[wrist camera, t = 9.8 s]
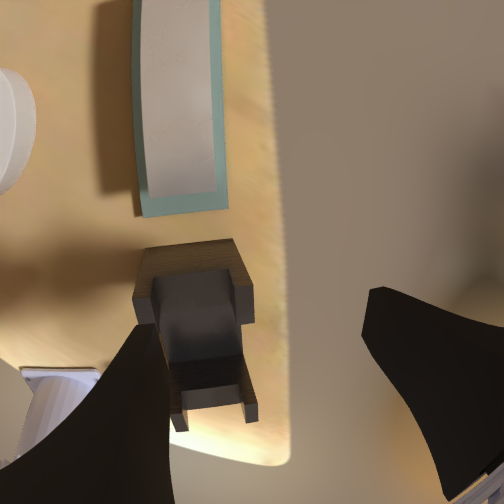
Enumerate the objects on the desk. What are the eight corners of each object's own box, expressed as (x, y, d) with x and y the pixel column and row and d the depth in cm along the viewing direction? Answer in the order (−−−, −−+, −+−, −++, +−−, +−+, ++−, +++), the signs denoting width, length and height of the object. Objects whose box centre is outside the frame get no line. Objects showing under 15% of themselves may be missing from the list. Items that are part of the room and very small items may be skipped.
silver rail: (211, 180, 16) (216, 191, 13) (156, 186, 15) (149, 198, 13) (204, -18, 11) (209, -43, 8) (150, -13, 11) (145, -38, 8)
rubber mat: (227, 206, 17) (228, 208, 17) (144, 215, 16) (142, 218, 16) (218, -41, 11) (219, -45, 10) (138, -34, 10) (137, -39, 10)
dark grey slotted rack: (241, 362, 22) (258, 421, 17) (173, 370, 21) (176, 432, 16) (232, 238, 18) (253, 284, 13) (146, 248, 17) (131, 298, 12)
